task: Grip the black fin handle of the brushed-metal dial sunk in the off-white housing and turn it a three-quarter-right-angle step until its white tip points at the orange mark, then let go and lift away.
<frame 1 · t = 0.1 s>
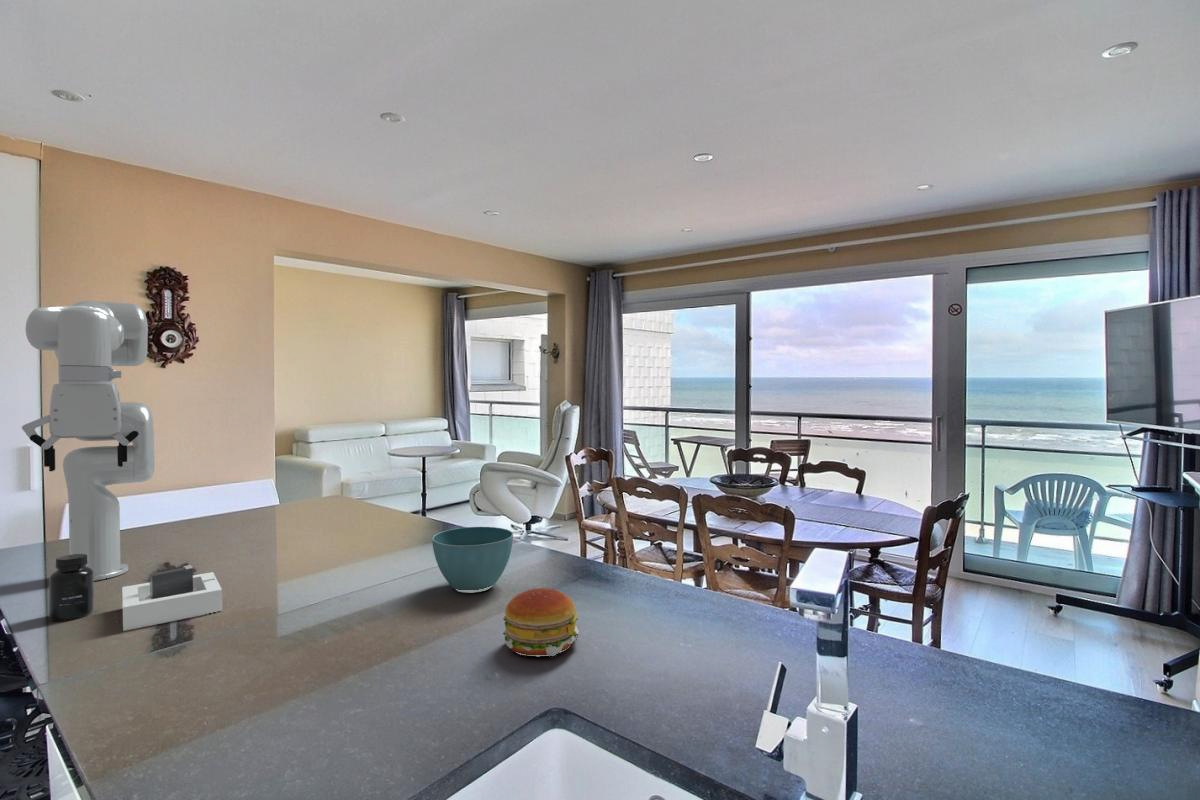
hand: (87, 468, 111), 31 cm above the worktop, tool pointing down, fingers open, 9 cm apart
dial: (171, 585, 124), point 5 cm above the worktop, hinge at 0.0°
dial housing: (172, 609, 124), on the worktop
teal bowl: (473, 588, 137), on the worktop
burger: (541, 647, 106), on the worktop
supplement bottle: (72, 616, 121), on the worktop
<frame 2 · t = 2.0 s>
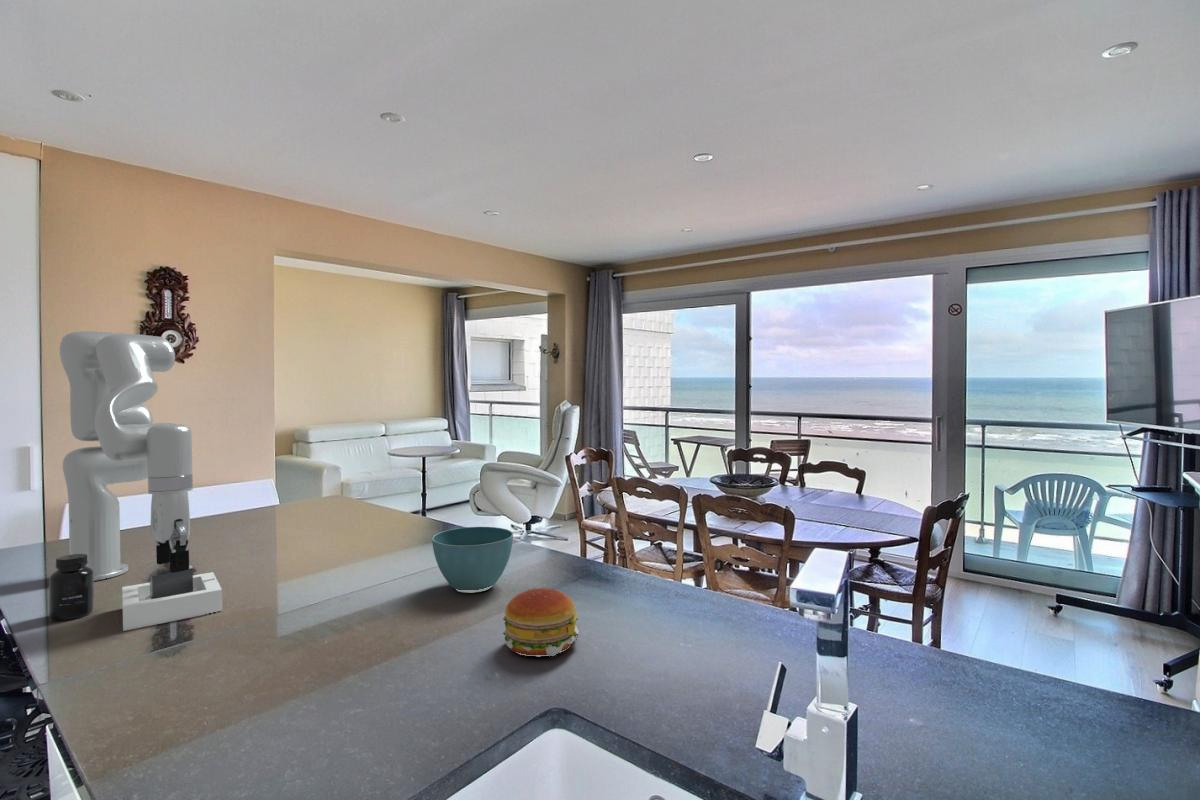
hand: (172, 566, 123), 9 cm above the worktop, tool pointing down, fingers open, 9 cm apart
nothing on the worktop moved.
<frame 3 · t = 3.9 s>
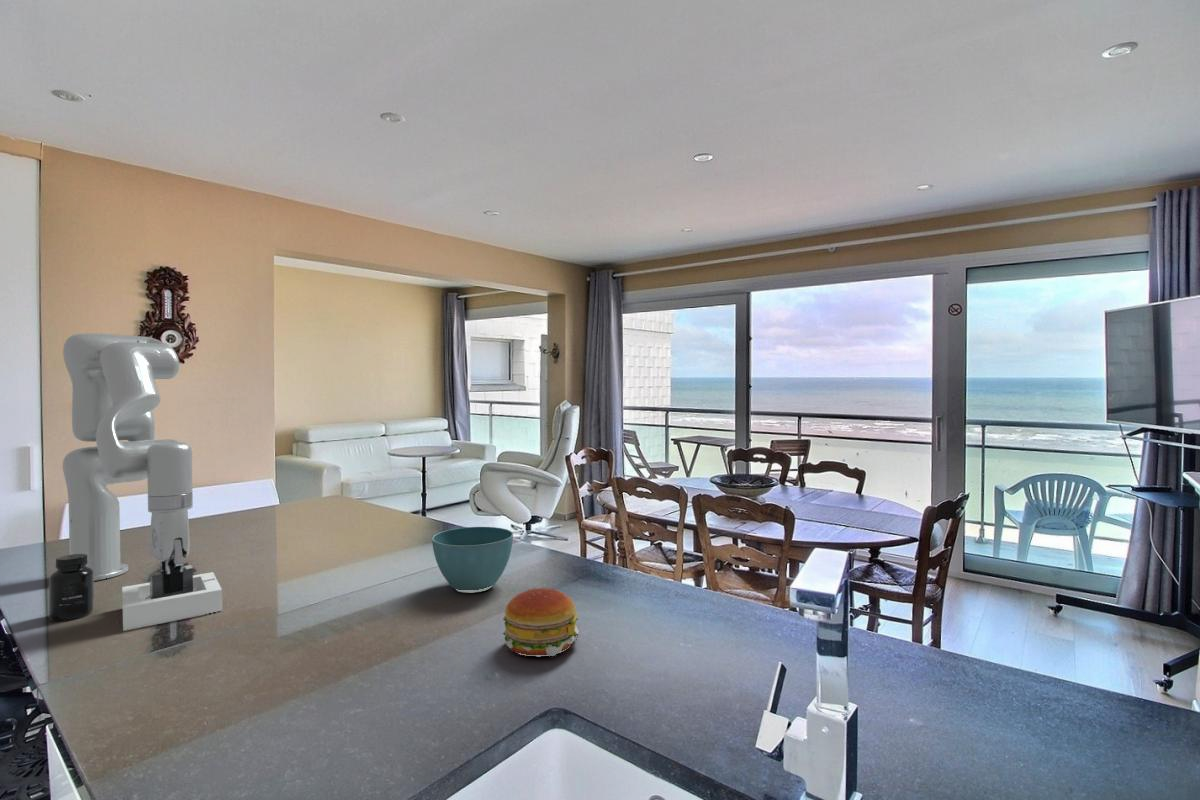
hand: (171, 589, 124), 4 cm above the worktop, tool pointing down, fingers closed on dial, 2 cm apart
dial: (171, 585, 124), point 5 cm above the worktop, hinge at 0.0°, touching gripper
everything else where it was.
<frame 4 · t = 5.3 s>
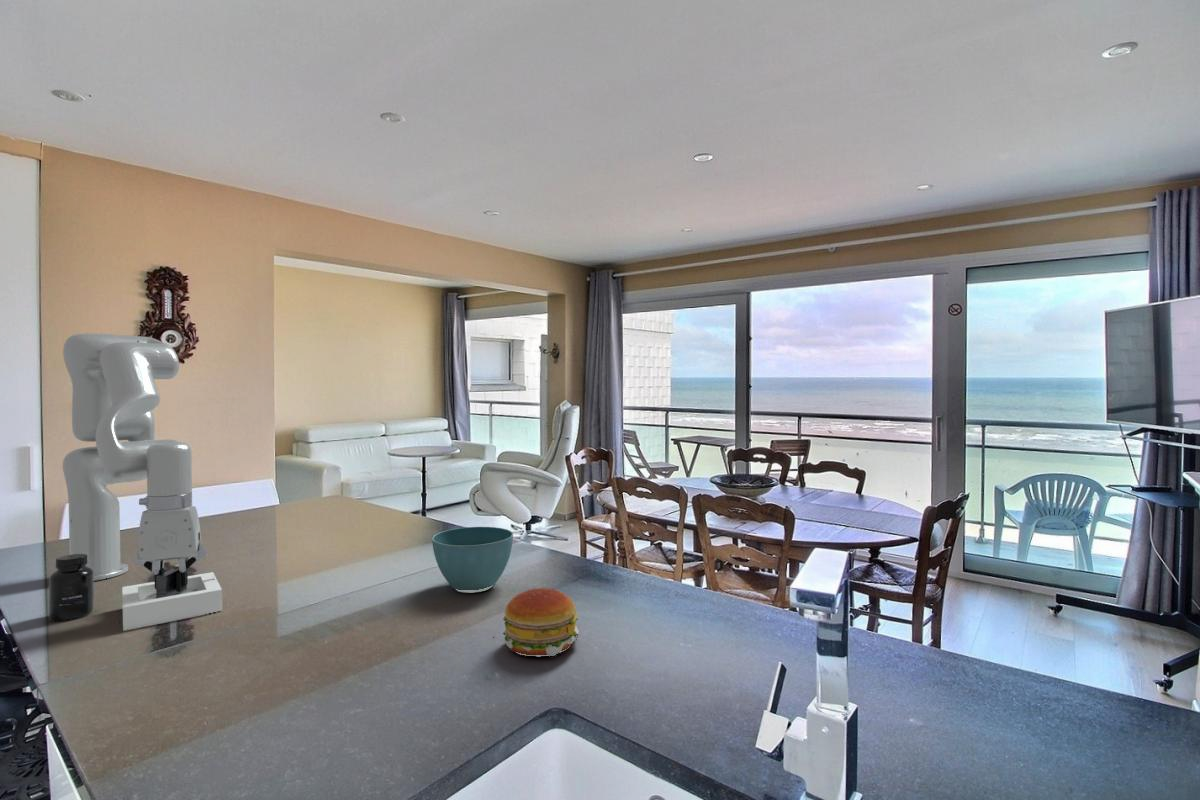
hand: (171, 590, 124), 4 cm above the worktop, tool pointing down, fingers closed on dial, 2 cm apart
dial: (171, 585, 124), point 5 cm above the worktop, hinge at 46.5°, touching gripper
everything else where it was.
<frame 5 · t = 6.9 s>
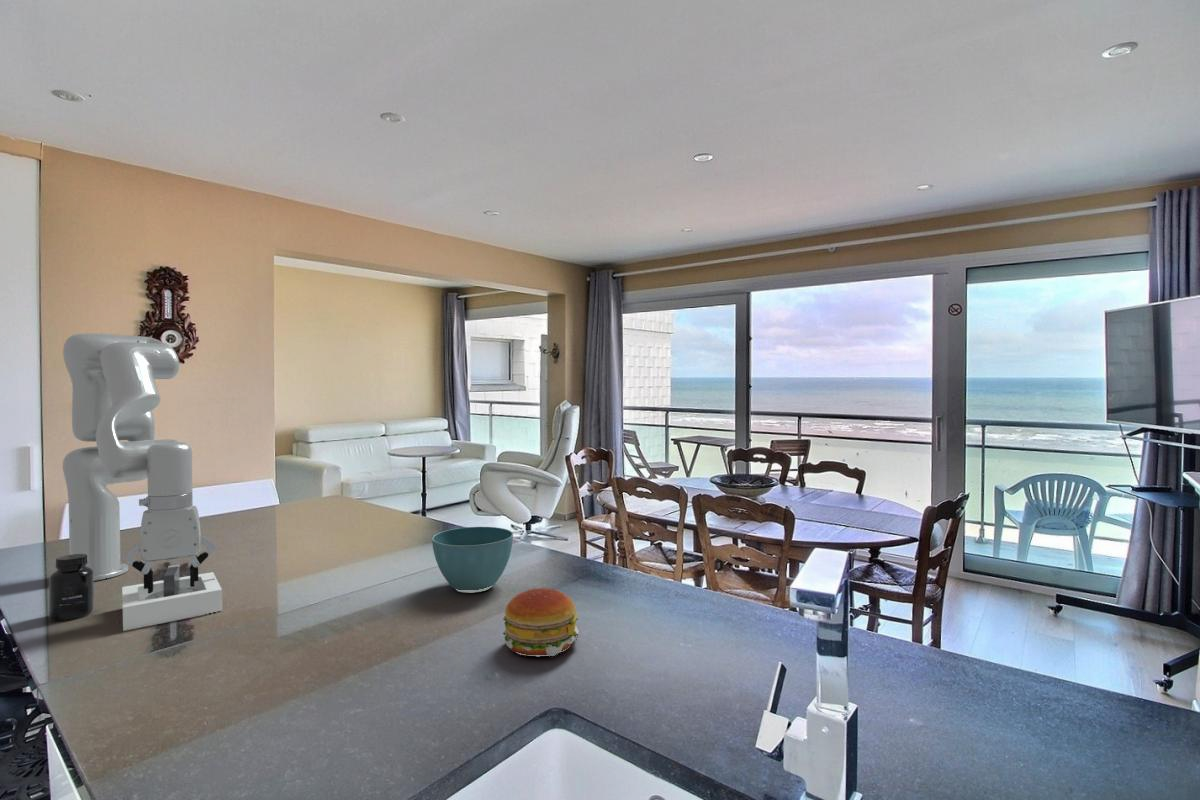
hand: (171, 587, 124), 5 cm above the worktop, tool pointing down, fingers open, 6 cm apart
dial: (171, 585, 124), point 5 cm above the worktop, hinge at 69.3°
everything else where it was.
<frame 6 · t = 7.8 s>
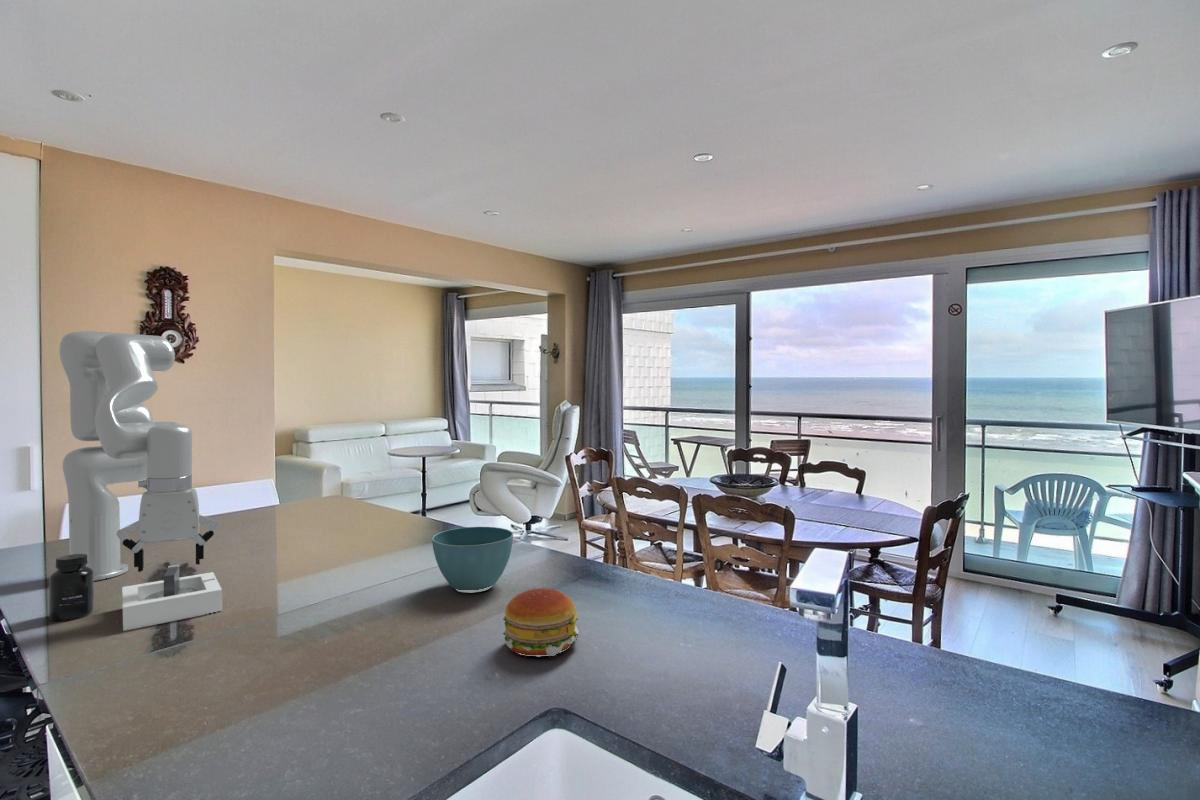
hand: (169, 566, 124), 9 cm above the worktop, tool pointing down, fingers open, 9 cm apart
nothing on the worktop moved.
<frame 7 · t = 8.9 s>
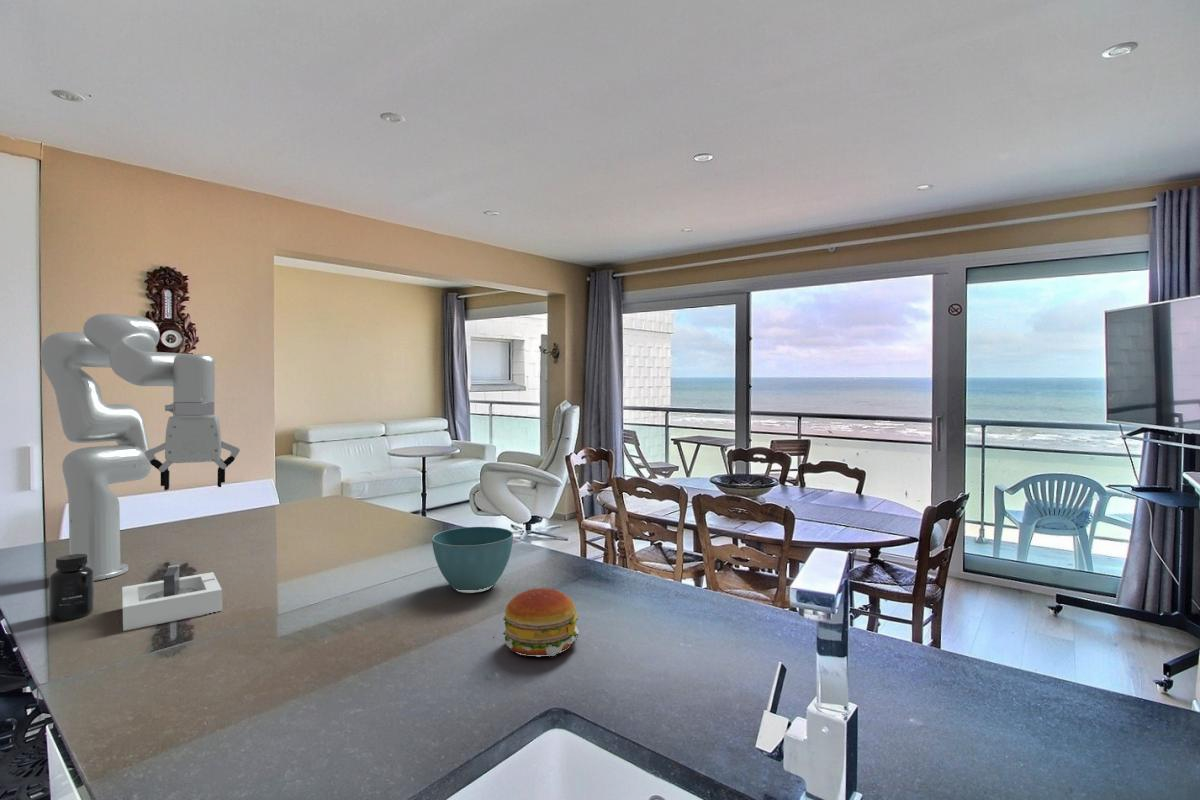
hand: (193, 487, 132), 24 cm above the worktop, tool pointing down, fingers open, 9 cm apart
nothing on the worktop moved.
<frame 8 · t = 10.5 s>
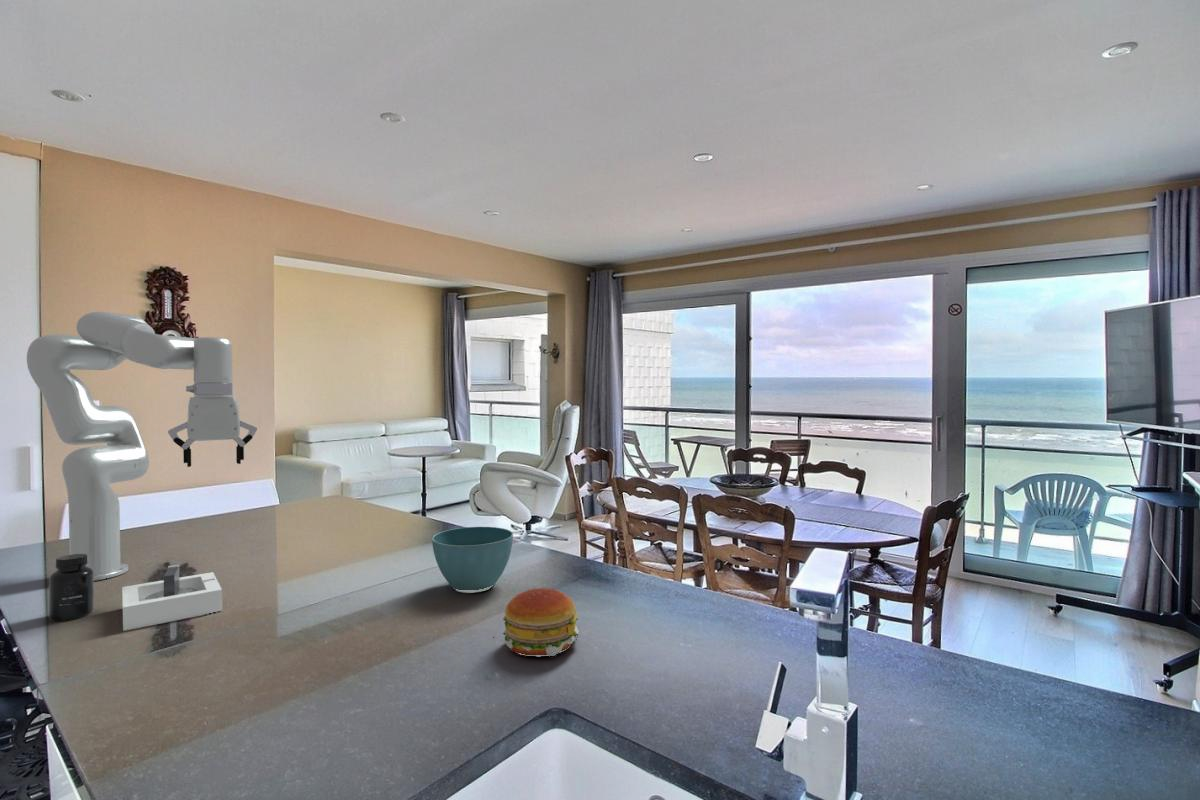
hand: (214, 464, 138), 28 cm above the worktop, tool pointing down, fingers open, 9 cm apart
nothing on the worktop moved.
at the end: dial at +70° (first picture: +0°); the gripper is holding nothing; supplement bottle moved 0.2 cm from its start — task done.
